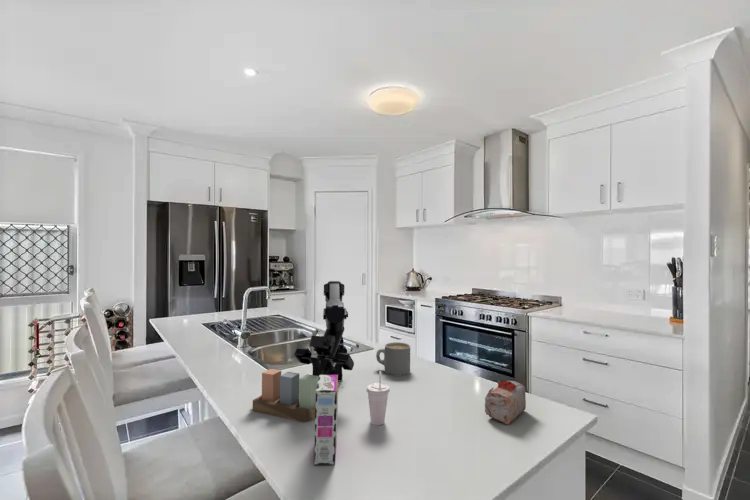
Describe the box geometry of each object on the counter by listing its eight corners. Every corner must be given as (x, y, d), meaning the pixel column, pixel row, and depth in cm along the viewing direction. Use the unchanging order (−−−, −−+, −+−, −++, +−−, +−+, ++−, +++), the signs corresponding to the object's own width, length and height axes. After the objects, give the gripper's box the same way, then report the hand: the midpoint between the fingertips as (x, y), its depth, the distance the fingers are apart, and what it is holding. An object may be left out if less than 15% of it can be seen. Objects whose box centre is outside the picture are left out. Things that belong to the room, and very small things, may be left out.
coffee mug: (413, 369, 143) (414, 344, 143) (404, 377, 134) (404, 350, 134) (383, 364, 149) (383, 340, 149) (372, 371, 140) (372, 345, 140)
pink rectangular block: (270, 400, 112) (270, 368, 112) (280, 403, 110) (281, 370, 110) (261, 406, 108) (262, 372, 108) (272, 408, 107) (272, 374, 107)
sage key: (306, 407, 107) (307, 374, 107) (318, 410, 106) (318, 376, 106) (299, 413, 104) (299, 378, 104) (311, 415, 102) (311, 380, 102)
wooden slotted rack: (271, 397, 115) (271, 387, 115) (327, 408, 107) (327, 398, 107) (249, 410, 106) (249, 399, 106) (309, 423, 98) (309, 412, 98)
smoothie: (387, 428, 96) (387, 376, 96) (363, 426, 97) (364, 374, 97) (390, 417, 102) (391, 368, 102) (368, 415, 103) (369, 366, 103)
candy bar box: (336, 465, 79) (337, 391, 79) (313, 466, 79) (314, 391, 79) (337, 438, 90) (338, 373, 90) (317, 439, 90) (318, 373, 90)
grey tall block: (287, 404, 109) (288, 371, 109) (298, 406, 108) (299, 373, 108) (279, 409, 106) (280, 375, 106) (291, 412, 104) (291, 377, 104)
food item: (510, 428, 97) (510, 392, 97) (482, 419, 102) (482, 384, 102) (528, 412, 107) (528, 378, 107) (501, 404, 112) (502, 372, 112)
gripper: (297, 322, 115) (275, 367, 105) (350, 327, 108) (332, 375, 98) (310, 341, 123) (291, 384, 112) (360, 346, 116) (345, 393, 105)
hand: (313, 384), depth 107 cm, fingers closed, pressing on sage key
